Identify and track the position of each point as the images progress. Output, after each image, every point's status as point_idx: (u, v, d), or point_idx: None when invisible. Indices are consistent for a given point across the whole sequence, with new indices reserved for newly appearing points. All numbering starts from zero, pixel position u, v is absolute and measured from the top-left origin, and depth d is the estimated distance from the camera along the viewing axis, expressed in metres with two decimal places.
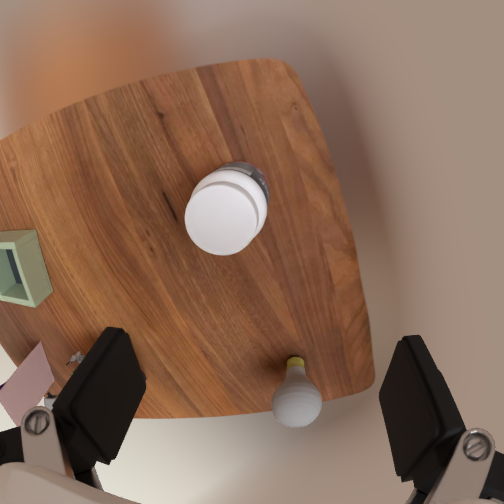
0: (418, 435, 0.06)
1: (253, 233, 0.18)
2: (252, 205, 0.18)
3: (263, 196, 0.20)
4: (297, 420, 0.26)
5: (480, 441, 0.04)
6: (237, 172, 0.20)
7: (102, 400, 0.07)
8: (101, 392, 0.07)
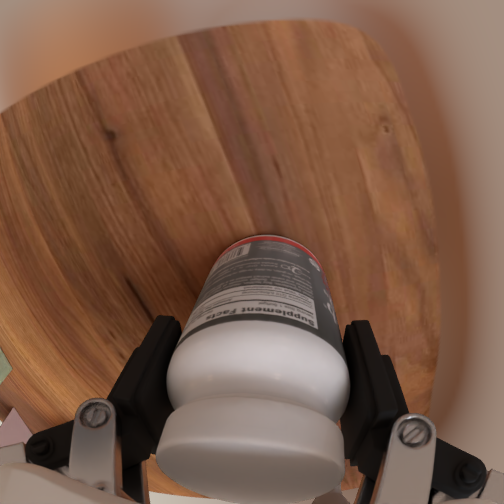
0: (357, 416, 0.07)
1: (328, 491, 0.06)
2: (341, 464, 0.05)
3: (348, 380, 0.07)
4: None
5: (417, 426, 0.05)
6: (289, 333, 0.07)
7: (160, 388, 0.08)
8: (159, 379, 0.08)
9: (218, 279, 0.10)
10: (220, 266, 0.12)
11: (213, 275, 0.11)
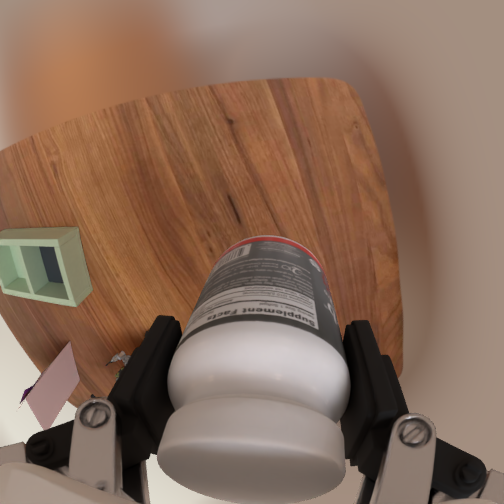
0: (357, 416, 0.07)
1: (328, 491, 0.06)
2: (341, 464, 0.05)
3: (348, 380, 0.07)
4: None
5: (417, 426, 0.05)
6: (290, 333, 0.07)
7: (160, 388, 0.08)
8: (159, 379, 0.08)
9: (219, 279, 0.10)
10: (221, 266, 0.12)
11: (214, 275, 0.11)
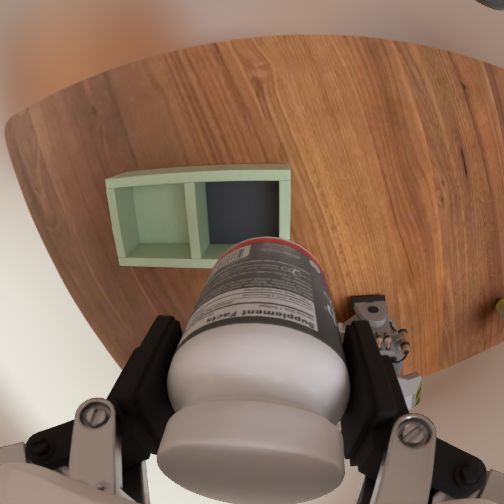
0: (357, 416, 0.07)
1: (328, 492, 0.06)
2: (340, 466, 0.05)
3: (348, 382, 0.07)
4: None
5: (417, 426, 0.05)
6: (289, 336, 0.07)
7: (160, 387, 0.08)
8: (159, 379, 0.08)
9: (218, 281, 0.10)
10: (220, 268, 0.12)
11: (213, 277, 0.11)
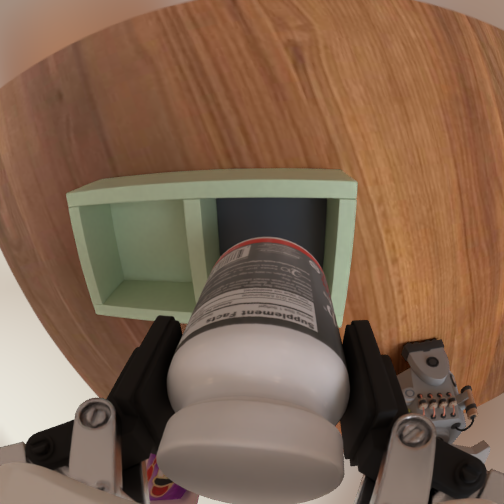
0: (357, 416, 0.07)
1: (327, 493, 0.06)
2: (340, 466, 0.05)
3: (348, 382, 0.07)
4: None
5: (417, 426, 0.05)
6: (289, 336, 0.07)
7: (160, 388, 0.08)
8: (159, 379, 0.08)
9: (218, 281, 0.10)
10: (220, 268, 0.12)
11: (213, 277, 0.11)
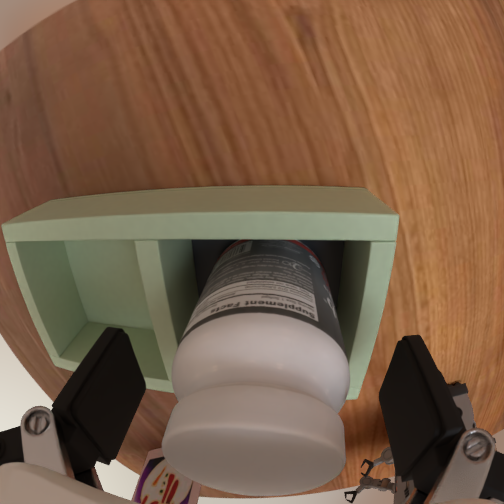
0: (418, 435, 0.06)
1: (329, 480, 0.06)
2: (342, 451, 0.05)
3: (348, 371, 0.08)
4: None
5: (480, 441, 0.04)
6: (291, 325, 0.07)
7: (102, 400, 0.07)
8: (101, 392, 0.07)
9: (221, 275, 0.11)
10: (223, 263, 0.12)
11: (216, 271, 0.12)
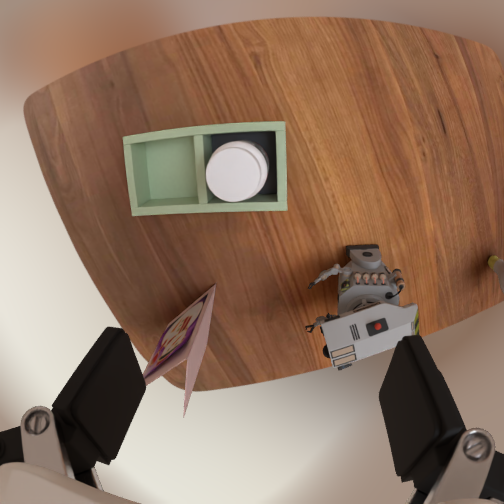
0: (418, 435, 0.06)
1: (257, 183, 0.24)
2: (256, 162, 0.24)
3: (264, 160, 0.26)
4: None
5: (480, 441, 0.04)
6: (244, 142, 0.26)
7: (102, 400, 0.07)
8: (101, 392, 0.07)
9: None
10: None
11: None
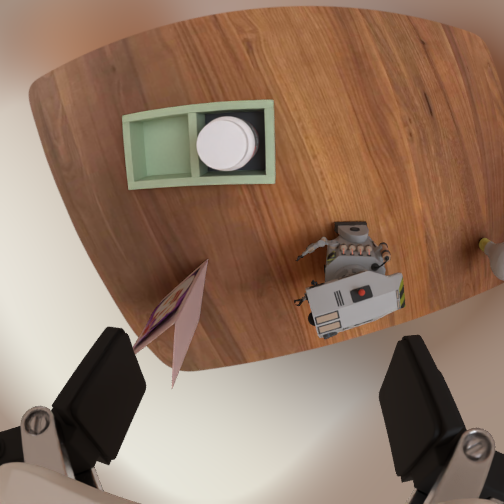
0: (418, 435, 0.06)
1: (244, 152, 0.25)
2: (243, 133, 0.25)
3: (252, 133, 0.27)
4: None
5: (480, 441, 0.04)
6: (233, 117, 0.27)
7: (102, 400, 0.07)
8: (101, 392, 0.07)
9: None
10: None
11: None
